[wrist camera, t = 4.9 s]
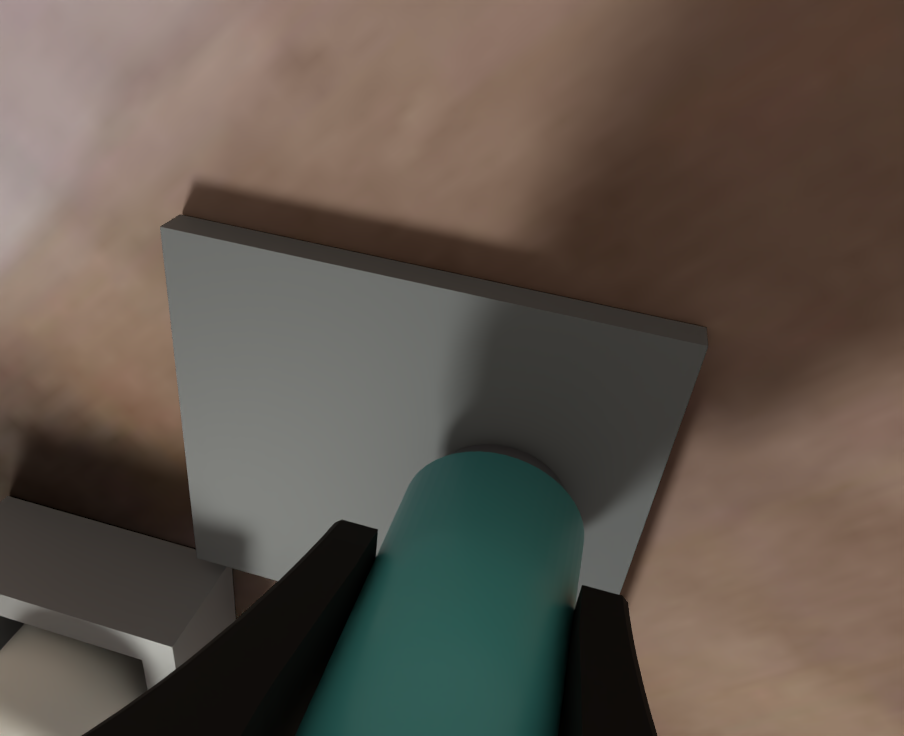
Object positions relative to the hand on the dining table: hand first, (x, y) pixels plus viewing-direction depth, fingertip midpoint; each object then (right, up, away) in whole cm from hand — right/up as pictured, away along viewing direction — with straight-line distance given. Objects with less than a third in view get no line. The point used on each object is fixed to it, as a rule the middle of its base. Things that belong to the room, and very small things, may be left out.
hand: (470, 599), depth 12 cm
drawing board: (-1, +2, +3) cm, 4 cm away
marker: (+1, +1, +2) cm, 2 cm away
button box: (-9, -3, +8) cm, 12 cm away
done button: (-9, -3, +7) cm, 12 cm away
